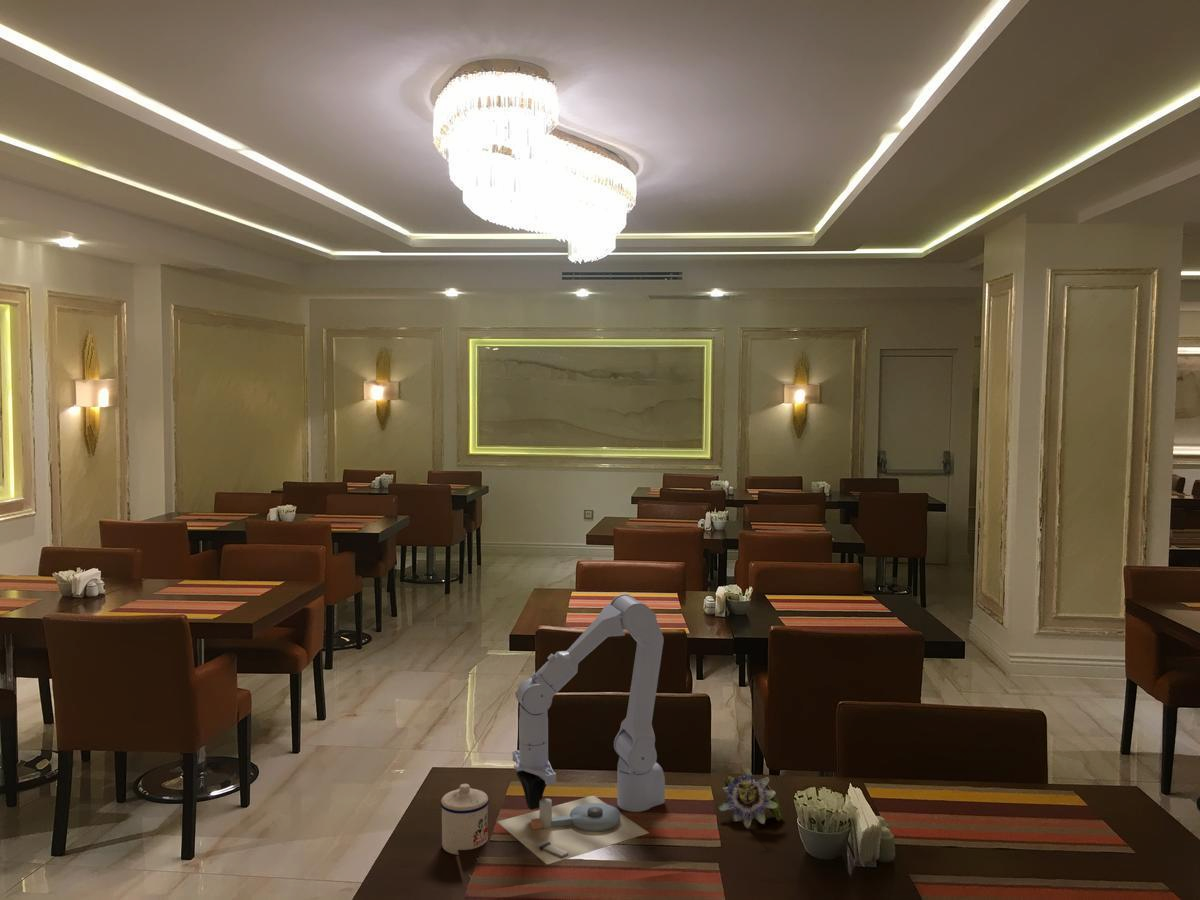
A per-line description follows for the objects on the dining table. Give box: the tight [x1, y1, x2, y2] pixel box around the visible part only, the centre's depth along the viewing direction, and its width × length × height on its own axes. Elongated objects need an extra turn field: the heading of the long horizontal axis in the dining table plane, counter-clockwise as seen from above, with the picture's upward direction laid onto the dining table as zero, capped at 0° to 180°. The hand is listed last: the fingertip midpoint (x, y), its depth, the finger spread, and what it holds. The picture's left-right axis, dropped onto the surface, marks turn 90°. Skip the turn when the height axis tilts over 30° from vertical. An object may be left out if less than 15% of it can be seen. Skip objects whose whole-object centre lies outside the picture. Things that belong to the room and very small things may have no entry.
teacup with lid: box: [439, 783, 490, 856], centre depth 182 cm, size 12×9×12 cm
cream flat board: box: [496, 795, 650, 865], centre depth 186 cm, size 23×20×2 cm
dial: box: [531, 797, 621, 832], centre depth 188 cm, size 18×10×5 cm, turn 105°
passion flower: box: [717, 768, 783, 830], centre depth 192 cm, size 11×11×12 cm
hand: (533, 807), depth 190 cm, fingers closed
